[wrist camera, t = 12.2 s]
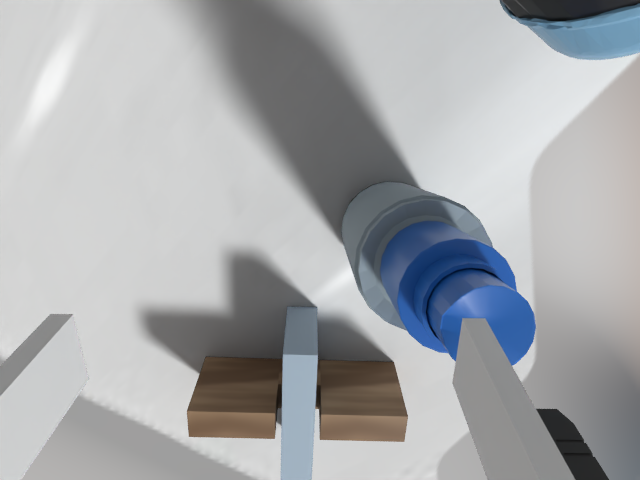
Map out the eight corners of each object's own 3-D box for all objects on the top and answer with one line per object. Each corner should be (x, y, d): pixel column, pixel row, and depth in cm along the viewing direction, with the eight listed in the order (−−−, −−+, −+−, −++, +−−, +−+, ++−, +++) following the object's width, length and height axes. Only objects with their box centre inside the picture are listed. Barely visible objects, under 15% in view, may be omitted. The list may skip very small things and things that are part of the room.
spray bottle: (449, 195, 43) (634, 253, 18) (421, 286, 44) (556, 453, 20) (355, 170, 42) (415, 196, 18) (330, 263, 44) (353, 406, 19)
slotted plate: (287, 306, 47) (282, 354, 40) (317, 307, 47) (318, 355, 40) (284, 428, 53) (280, 489, 46) (311, 429, 53) (310, 490, 46)
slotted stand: (205, 356, 49) (186, 411, 42) (393, 362, 50) (407, 416, 43) (207, 379, 51) (188, 436, 43) (390, 384, 51) (404, 441, 44)
